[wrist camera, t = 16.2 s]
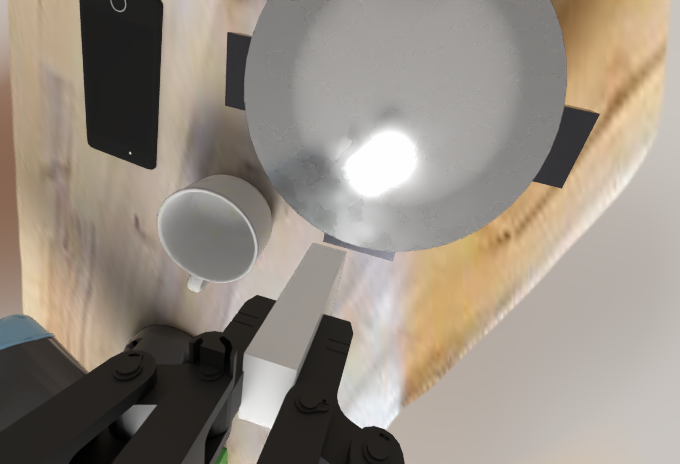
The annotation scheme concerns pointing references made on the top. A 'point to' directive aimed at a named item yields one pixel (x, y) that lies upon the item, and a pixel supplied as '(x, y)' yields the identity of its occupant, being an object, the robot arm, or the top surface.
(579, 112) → the cooker
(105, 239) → the top surface
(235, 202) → the teacup
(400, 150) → the lid
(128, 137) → the cell phone
